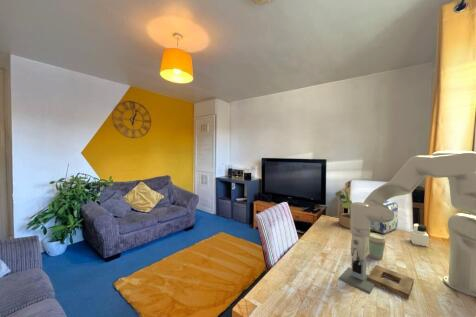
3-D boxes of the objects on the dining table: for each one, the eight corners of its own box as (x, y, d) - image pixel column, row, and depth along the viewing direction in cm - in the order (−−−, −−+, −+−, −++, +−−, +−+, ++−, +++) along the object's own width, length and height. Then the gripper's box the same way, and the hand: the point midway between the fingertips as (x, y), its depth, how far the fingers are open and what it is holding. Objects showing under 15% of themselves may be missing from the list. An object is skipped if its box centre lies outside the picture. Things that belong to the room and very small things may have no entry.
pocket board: (413, 283, 86) (413, 278, 86) (408, 299, 77) (408, 294, 77) (375, 268, 96) (375, 264, 96) (367, 281, 87) (367, 276, 87)
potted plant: (344, 220, 164) (345, 185, 163) (367, 227, 150) (369, 188, 148) (329, 225, 152) (330, 187, 150) (353, 234, 137) (354, 192, 136)
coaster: (377, 280, 88) (377, 278, 88) (369, 293, 80) (369, 291, 80) (348, 268, 96) (348, 266, 96) (339, 279, 89) (339, 277, 88)
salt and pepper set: (425, 242, 125) (425, 224, 124) (428, 247, 119) (429, 227, 118) (410, 239, 128) (411, 222, 128) (412, 244, 122) (413, 225, 122)
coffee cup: (388, 262, 102) (389, 239, 102) (370, 260, 104) (371, 238, 103) (380, 253, 111) (381, 233, 110) (363, 252, 112) (364, 231, 112)
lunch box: (383, 237, 132) (384, 205, 131) (367, 231, 141) (368, 201, 140) (399, 228, 147) (400, 200, 146) (383, 224, 155) (384, 197, 155)
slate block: (365, 276, 88) (366, 258, 87) (362, 280, 85) (363, 262, 84) (354, 271, 91) (355, 254, 91) (351, 275, 88) (351, 258, 88)
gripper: (363, 238, 79) (362, 282, 79) (375, 228, 90) (373, 266, 91) (343, 233, 84) (342, 273, 85) (356, 223, 96) (355, 259, 96)
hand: (358, 269), depth 88 cm, fingers closed on slate block, 4 cm apart
